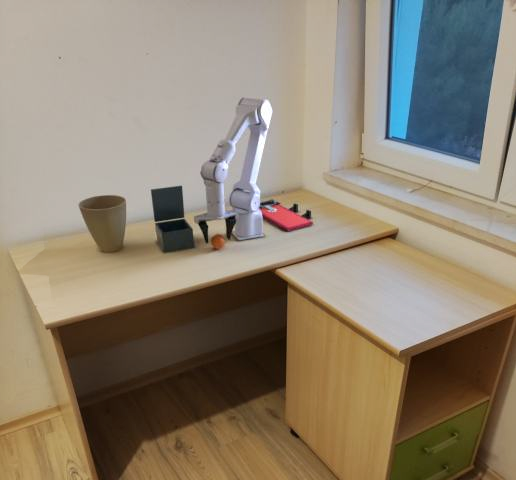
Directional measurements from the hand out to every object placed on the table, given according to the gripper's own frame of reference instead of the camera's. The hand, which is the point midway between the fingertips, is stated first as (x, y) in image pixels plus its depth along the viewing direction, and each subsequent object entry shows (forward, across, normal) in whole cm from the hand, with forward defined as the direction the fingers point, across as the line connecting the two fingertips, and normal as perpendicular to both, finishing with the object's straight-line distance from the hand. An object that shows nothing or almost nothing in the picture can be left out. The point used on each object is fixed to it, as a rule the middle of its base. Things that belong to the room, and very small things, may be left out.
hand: (217, 240), depth 168 cm
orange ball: (0, 0, 0) cm, 0 cm away
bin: (+3, -12, +9) cm, 16 cm away
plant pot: (+3, -33, +15) cm, 37 cm away
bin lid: (-10, -13, +13) cm, 21 cm away
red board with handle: (+3, +33, +20) cm, 38 cm away
